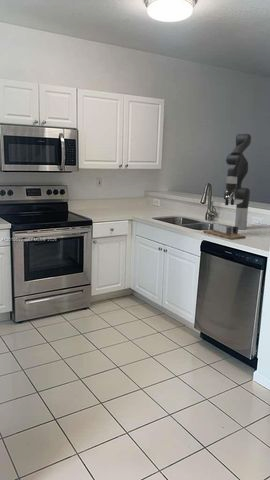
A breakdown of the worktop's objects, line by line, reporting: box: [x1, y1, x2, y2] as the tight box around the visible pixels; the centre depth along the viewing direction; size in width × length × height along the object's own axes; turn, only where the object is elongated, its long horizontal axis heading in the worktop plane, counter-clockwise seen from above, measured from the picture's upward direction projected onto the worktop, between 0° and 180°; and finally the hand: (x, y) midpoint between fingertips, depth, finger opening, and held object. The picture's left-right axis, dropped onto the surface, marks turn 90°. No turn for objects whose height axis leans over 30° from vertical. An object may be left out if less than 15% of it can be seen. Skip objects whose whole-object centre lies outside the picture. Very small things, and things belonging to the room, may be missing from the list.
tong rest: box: [202, 222, 247, 241], centre depth 286 cm, size 30×14×8 cm, turn 30°
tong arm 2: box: [215, 222, 239, 234], centre depth 286 cm, size 20×2×5 cm, turn 36°
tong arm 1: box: [212, 223, 231, 235], centre depth 284 cm, size 20×2×5 cm, turn 24°
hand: (229, 205), depth 286 cm, fingers open, 8 cm apart
